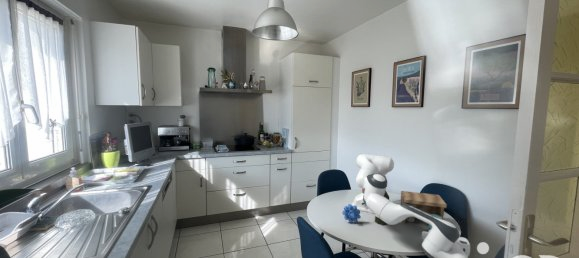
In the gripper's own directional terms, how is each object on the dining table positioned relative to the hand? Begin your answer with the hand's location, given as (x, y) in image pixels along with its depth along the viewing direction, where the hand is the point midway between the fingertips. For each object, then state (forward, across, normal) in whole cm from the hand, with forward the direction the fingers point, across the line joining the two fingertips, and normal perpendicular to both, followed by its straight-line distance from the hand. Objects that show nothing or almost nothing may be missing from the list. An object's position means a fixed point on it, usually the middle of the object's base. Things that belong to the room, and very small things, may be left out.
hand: (440, 232), depth 127 cm
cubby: (+20, -5, -5) cm, 22 cm away
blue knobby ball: (+6, -46, -6) cm, 47 cm away
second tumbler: (+24, -11, -5) cm, 26 cm away
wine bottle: (+14, -28, -6) cm, 32 cm away
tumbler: (+7, 0, -5) cm, 9 cm away
